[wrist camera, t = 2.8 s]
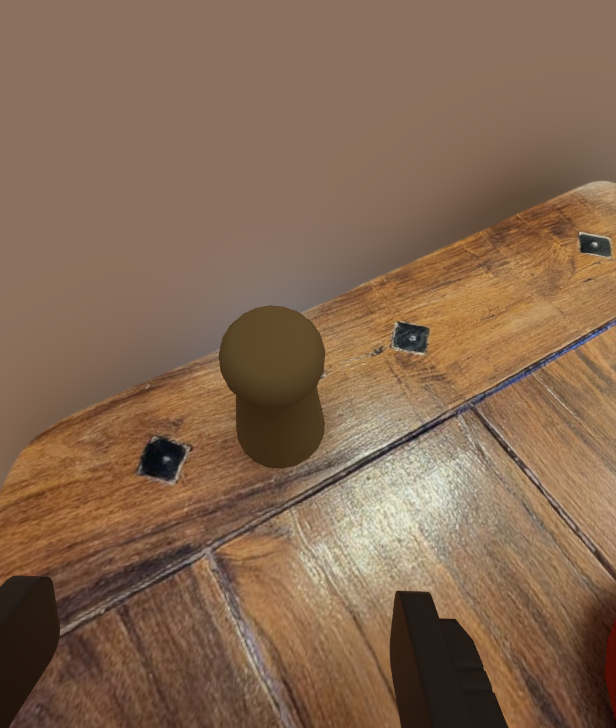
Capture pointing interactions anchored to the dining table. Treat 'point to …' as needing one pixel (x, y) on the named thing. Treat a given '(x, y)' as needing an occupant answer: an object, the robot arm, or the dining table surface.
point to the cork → (275, 384)
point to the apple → (611, 667)
